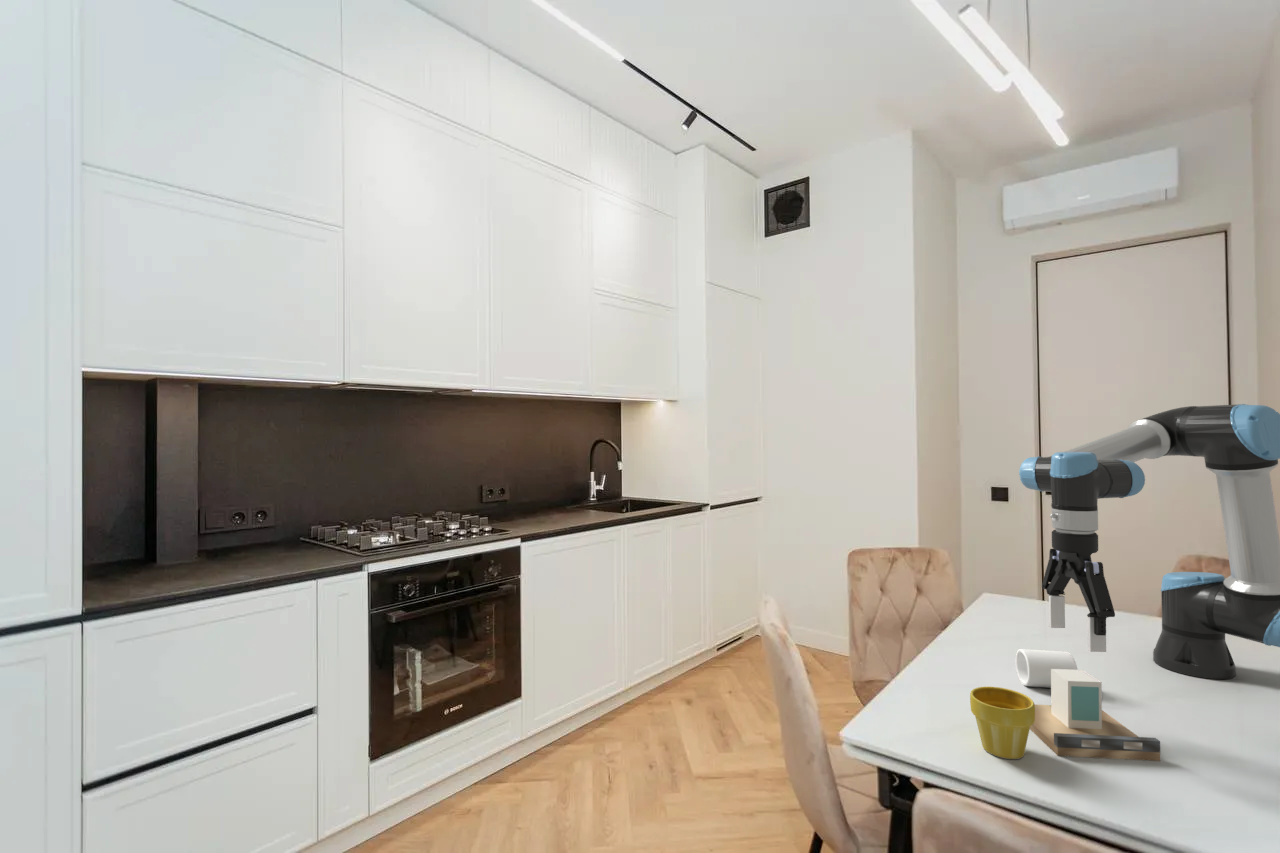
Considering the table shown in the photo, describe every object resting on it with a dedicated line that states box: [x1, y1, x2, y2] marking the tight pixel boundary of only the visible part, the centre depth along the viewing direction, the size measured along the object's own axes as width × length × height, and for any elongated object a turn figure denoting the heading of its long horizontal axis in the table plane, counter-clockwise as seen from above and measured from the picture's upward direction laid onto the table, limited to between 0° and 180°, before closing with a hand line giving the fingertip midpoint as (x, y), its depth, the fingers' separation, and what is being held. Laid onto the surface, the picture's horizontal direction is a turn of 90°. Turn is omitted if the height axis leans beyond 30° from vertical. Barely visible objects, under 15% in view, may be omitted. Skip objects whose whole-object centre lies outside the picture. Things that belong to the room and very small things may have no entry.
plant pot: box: [969, 686, 1035, 760], centre depth 115 cm, size 10×10×10 cm
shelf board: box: [1029, 703, 1161, 762], centre depth 120 cm, size 17×18×4 cm
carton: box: [1050, 669, 1103, 729], centre depth 123 cm, size 6×6×9 cm
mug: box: [1015, 648, 1079, 689], centre depth 145 cm, size 12×10×8 cm
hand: (1076, 638), depth 123 cm, fingers open, 13 cm apart
